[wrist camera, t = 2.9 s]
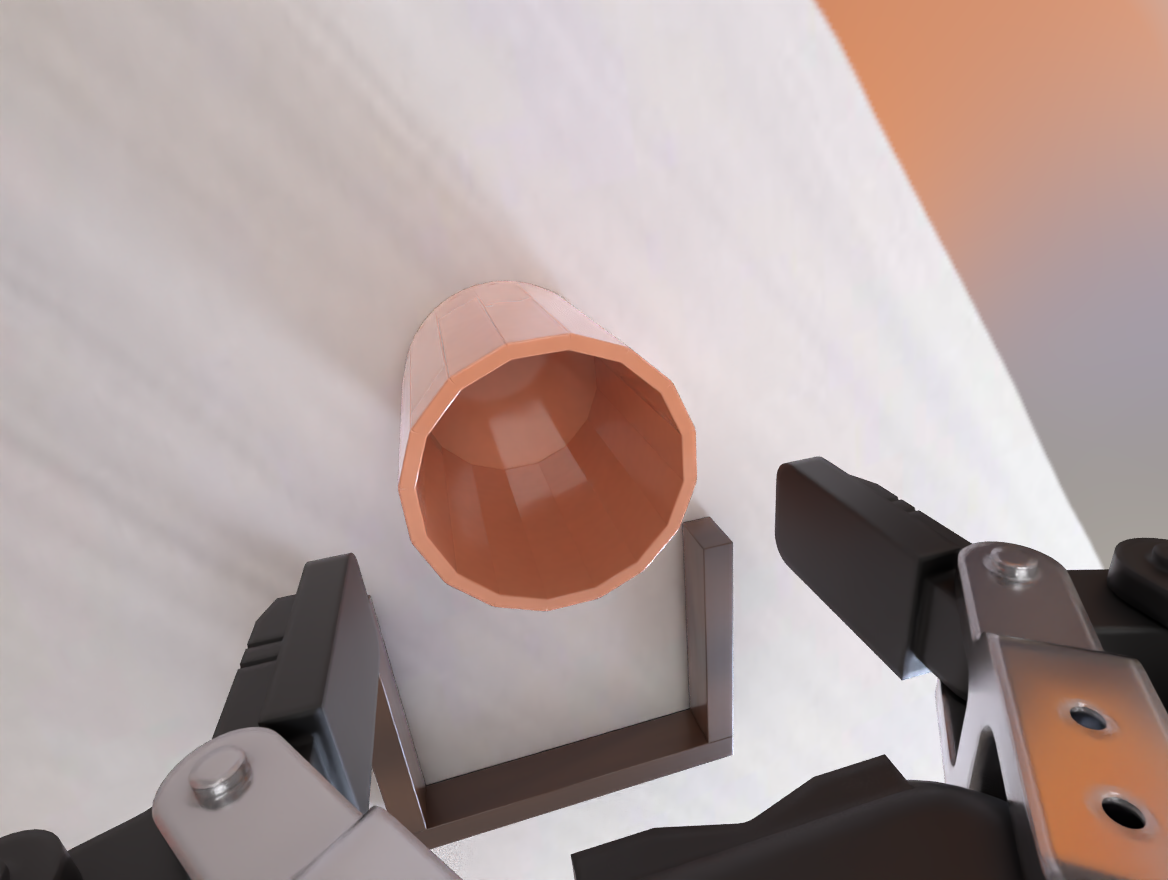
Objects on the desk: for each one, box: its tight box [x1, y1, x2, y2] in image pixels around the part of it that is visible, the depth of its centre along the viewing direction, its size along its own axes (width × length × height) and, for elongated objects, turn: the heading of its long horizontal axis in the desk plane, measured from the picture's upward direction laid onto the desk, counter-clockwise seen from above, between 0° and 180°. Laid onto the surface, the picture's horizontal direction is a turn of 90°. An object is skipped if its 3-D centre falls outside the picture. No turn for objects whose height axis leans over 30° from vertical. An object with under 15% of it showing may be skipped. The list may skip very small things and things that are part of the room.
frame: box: [367, 517, 733, 849], centre depth 25 cm, size 11×14×2 cm
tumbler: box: [398, 281, 697, 611], centre depth 17 cm, size 6×6×8 cm
